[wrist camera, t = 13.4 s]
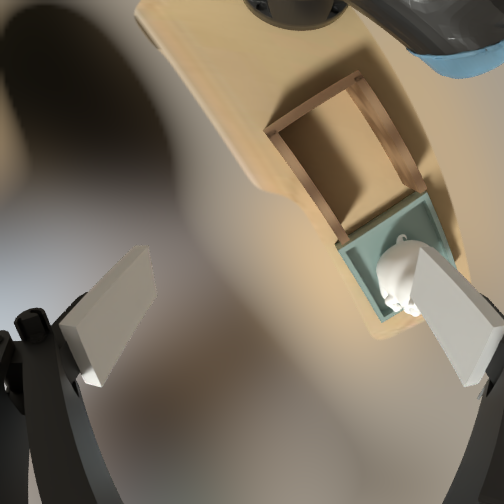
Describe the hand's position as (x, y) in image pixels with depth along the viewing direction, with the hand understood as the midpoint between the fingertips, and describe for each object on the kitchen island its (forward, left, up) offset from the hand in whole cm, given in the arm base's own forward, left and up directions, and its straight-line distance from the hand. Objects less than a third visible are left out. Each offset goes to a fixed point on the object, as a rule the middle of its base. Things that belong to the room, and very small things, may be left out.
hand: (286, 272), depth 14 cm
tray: (+12, +19, -29) cm, 36 cm away
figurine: (+12, +19, -28) cm, 36 cm away
